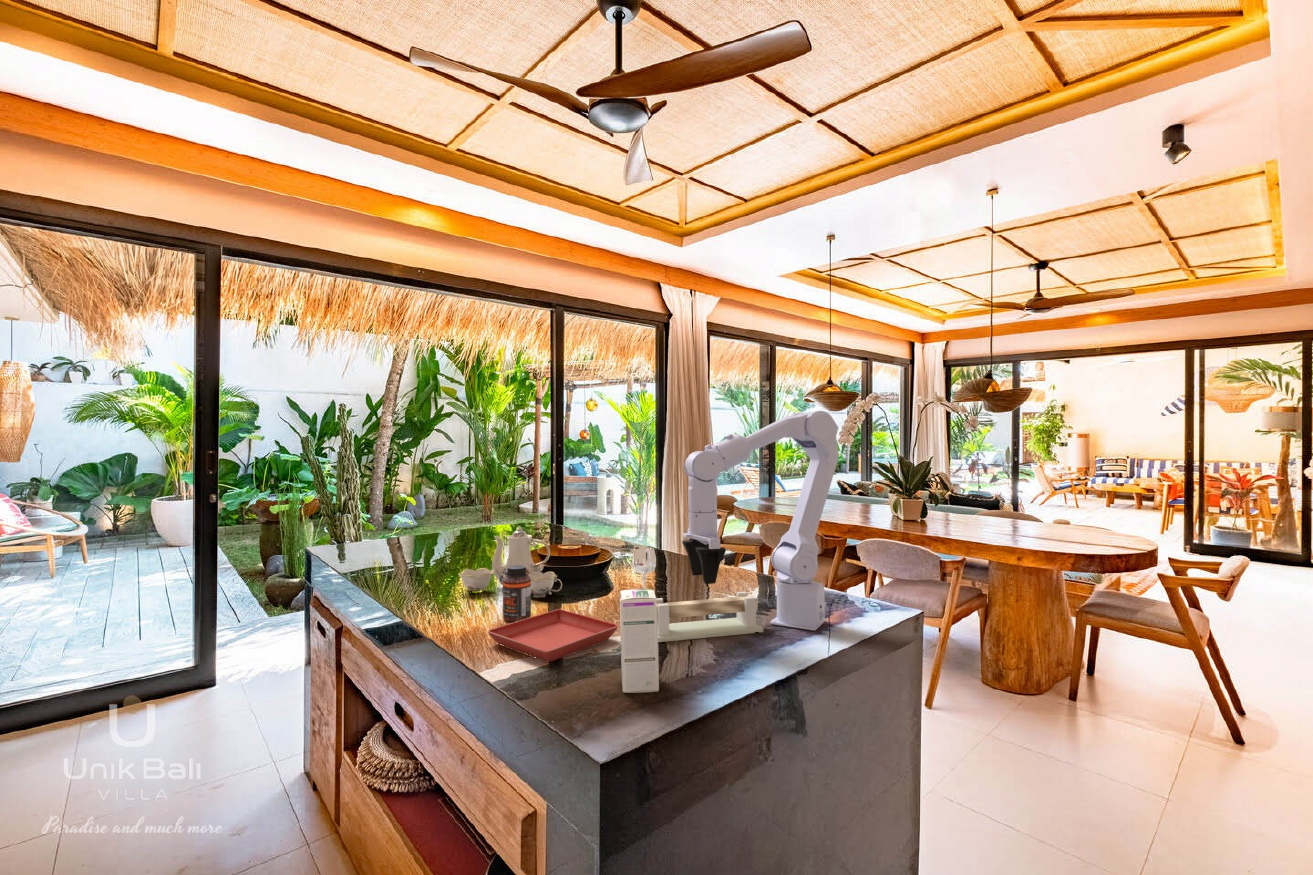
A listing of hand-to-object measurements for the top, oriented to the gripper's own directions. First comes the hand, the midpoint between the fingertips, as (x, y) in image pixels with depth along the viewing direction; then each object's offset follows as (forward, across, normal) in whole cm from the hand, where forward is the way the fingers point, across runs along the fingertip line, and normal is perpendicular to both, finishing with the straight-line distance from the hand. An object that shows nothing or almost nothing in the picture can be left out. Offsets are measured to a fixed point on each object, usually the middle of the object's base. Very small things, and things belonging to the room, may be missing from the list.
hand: (703, 578), depth 123 cm
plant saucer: (+11, -1, -30) cm, 32 cm away
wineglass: (+11, -28, -6) cm, 31 cm away
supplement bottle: (+10, -19, -36) cm, 42 cm away
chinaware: (+11, -44, -36) cm, 58 cm away
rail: (+7, 0, 0) cm, 7 cm away
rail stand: (+10, 0, 0) cm, 10 cm away
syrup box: (+11, +23, -18) cm, 31 cm away
